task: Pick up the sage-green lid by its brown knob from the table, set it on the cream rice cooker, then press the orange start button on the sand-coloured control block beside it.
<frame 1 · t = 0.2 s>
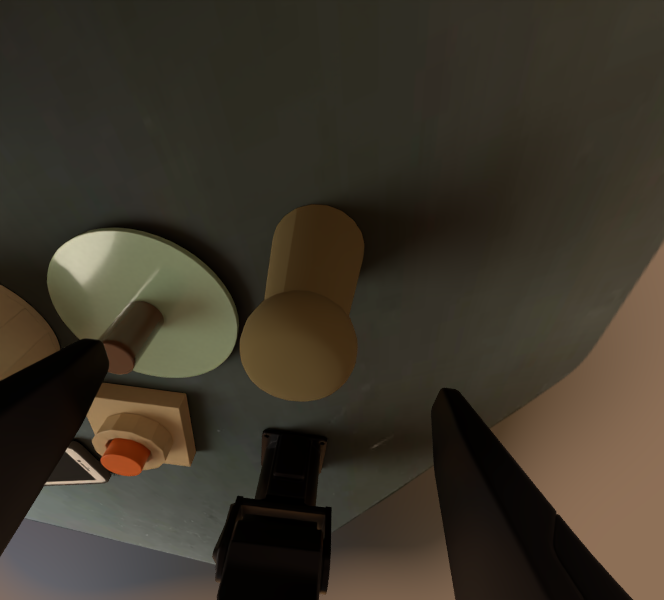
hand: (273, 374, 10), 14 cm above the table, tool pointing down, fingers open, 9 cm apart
lid: (148, 311, 27), point 1 cm above the table
start button: (126, 456, 33), point 4 cm above the table, slide at 0.1 cm
cell phone: (43, 459, 42), on the table
control block: (146, 419, 36), on the table
cork: (318, 247, 24), on the table
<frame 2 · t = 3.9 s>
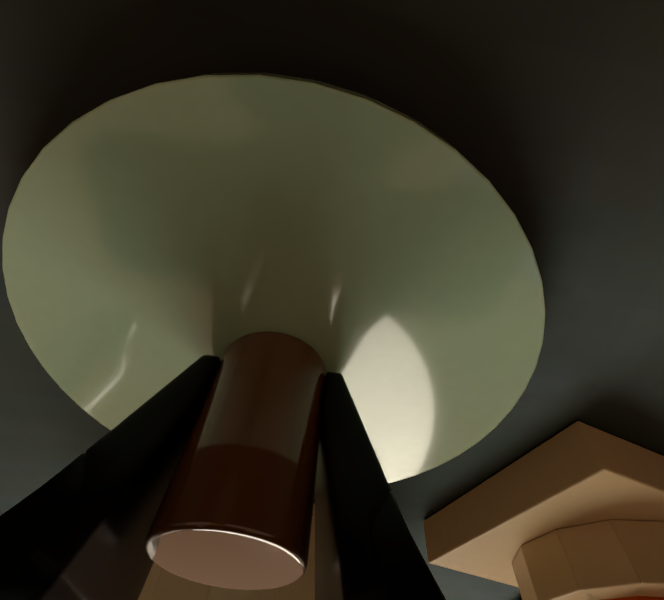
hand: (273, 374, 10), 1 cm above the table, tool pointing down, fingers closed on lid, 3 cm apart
lid: (278, 355, 10), point 1 cm above the table, touching gripper
control block: (580, 511, 16), on the table
pot: (269, 548, 20), on the table
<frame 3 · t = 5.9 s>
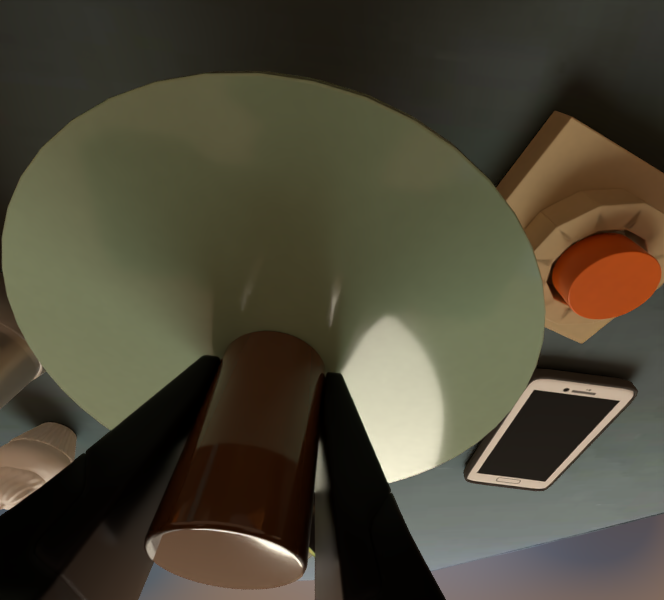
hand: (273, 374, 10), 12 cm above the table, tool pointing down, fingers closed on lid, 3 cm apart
lid: (278, 354, 10), point 11 cm above the table, touching gripper
start button: (602, 277, 16), point 4 cm above the table, slide at 0.1 cm
cell phone: (534, 430, 30), on the table
control block: (562, 237, 20), on the table
muffin: (60, 430, 35), on the table
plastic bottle: (45, 299, 25), on the table
when the fingers open (8 cm above the table, at t = 8.1 s): lid stays where it is, resting on pot.
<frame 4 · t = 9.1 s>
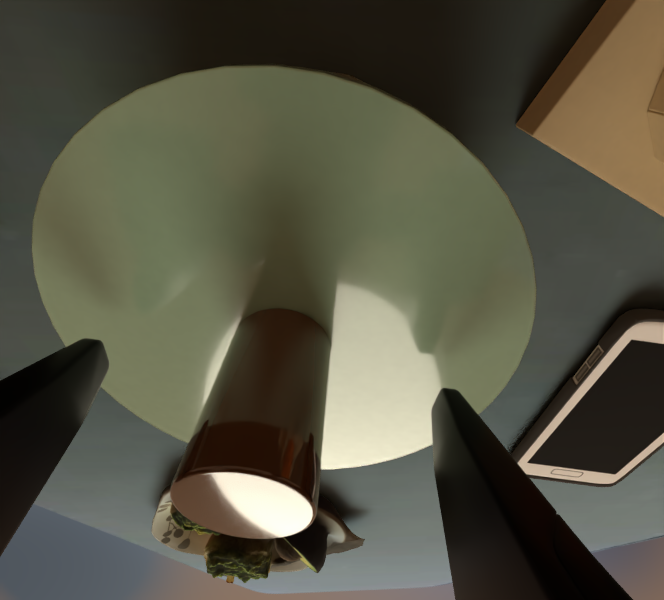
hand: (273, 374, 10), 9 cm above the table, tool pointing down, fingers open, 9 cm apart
lid: (286, 333, 11), point 7 cm above the table, touching pot
cell phone: (610, 404, 22), on the table
salad plate: (255, 512, 34), on the table
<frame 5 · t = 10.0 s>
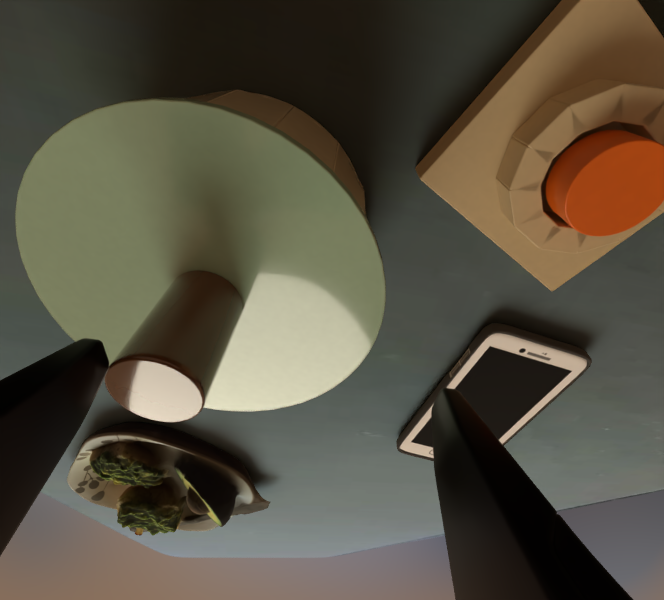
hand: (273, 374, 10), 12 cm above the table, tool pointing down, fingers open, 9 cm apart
lid: (211, 293, 14), point 7 cm above the table, touching gripper, pot
start button: (605, 184, 14), point 4 cm above the table, slide at 0.1 cm
cell phone: (478, 399, 28), on the table
control block: (557, 157, 17), on the table
pot: (252, 221, 20), on the table
salad plate: (173, 471, 37), on the table
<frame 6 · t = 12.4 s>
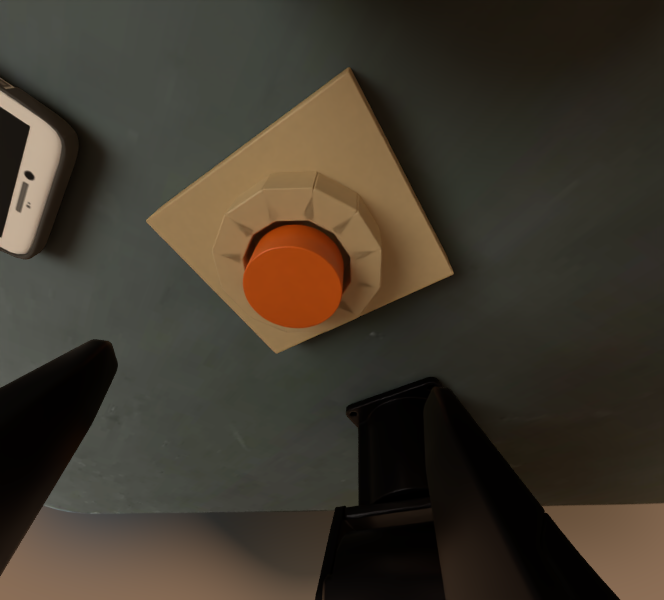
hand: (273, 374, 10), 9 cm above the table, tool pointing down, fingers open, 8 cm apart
start button: (295, 277, 14), point 4 cm above the table, slide at 0.1 cm
control block: (307, 231, 17), on the table
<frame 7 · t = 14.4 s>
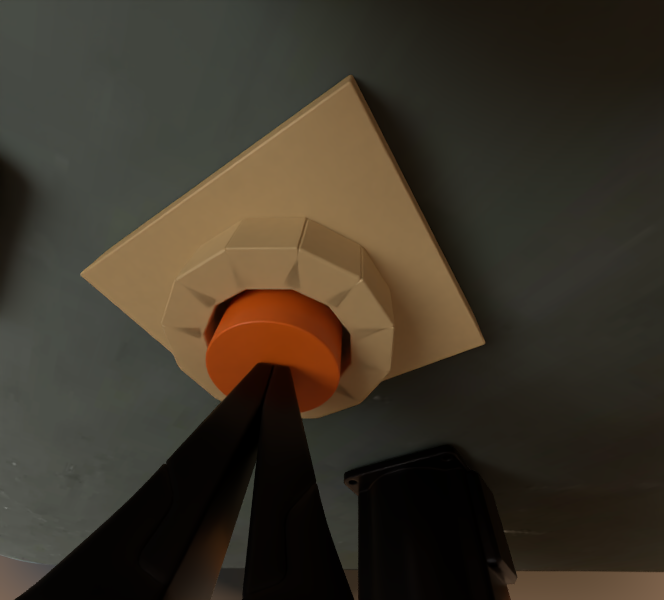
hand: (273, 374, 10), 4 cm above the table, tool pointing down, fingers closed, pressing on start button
start button: (278, 350, 10), point 4 cm above the table, slide at -0.3 cm, touching gripper
control block: (295, 282, 13), on the table
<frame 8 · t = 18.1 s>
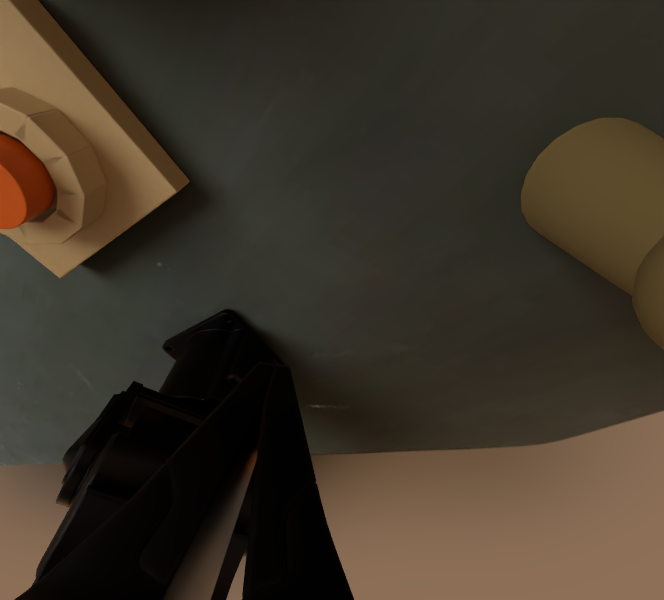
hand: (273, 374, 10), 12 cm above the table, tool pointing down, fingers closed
control block: (59, 156, 19), on the table
cork: (583, 183, 18), on the table
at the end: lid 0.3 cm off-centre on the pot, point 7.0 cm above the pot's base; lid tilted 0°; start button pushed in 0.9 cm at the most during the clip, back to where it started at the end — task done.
